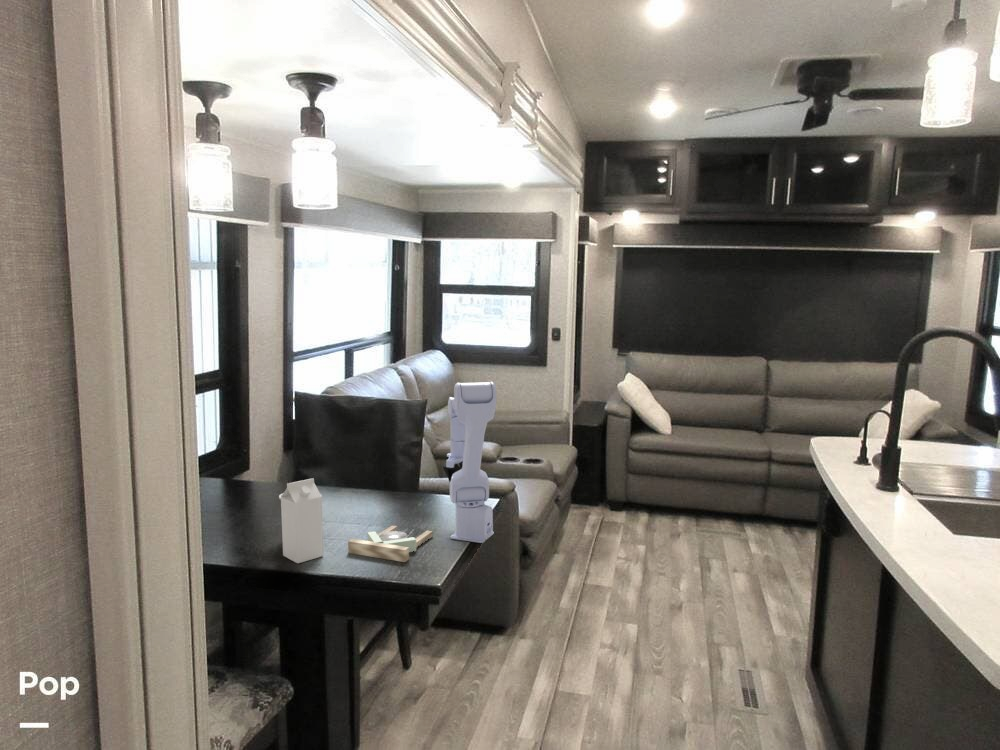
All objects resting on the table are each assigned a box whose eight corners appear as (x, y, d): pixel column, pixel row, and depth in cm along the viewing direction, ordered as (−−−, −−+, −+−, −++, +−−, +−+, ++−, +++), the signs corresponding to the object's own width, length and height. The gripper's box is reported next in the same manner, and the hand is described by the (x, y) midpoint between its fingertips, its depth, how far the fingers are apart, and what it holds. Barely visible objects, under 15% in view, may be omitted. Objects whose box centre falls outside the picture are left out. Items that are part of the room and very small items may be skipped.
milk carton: (282, 556, 173) (279, 480, 171) (309, 548, 178) (306, 475, 176) (297, 564, 168) (294, 486, 166) (323, 556, 173) (321, 481, 171)
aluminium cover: (412, 544, 182) (411, 533, 182) (398, 553, 175) (398, 542, 175) (388, 540, 184) (388, 529, 184) (374, 550, 178) (373, 538, 178)
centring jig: (438, 537, 186) (438, 526, 186) (405, 562, 170) (404, 550, 169) (386, 529, 192) (385, 519, 192) (348, 552, 176) (348, 541, 175)
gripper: (458, 433, 207) (459, 478, 208) (436, 443, 193) (436, 491, 195) (480, 435, 204) (481, 481, 206) (459, 445, 191) (459, 494, 192)
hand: (460, 486), depth 200 cm, fingers open, 7 cm apart
